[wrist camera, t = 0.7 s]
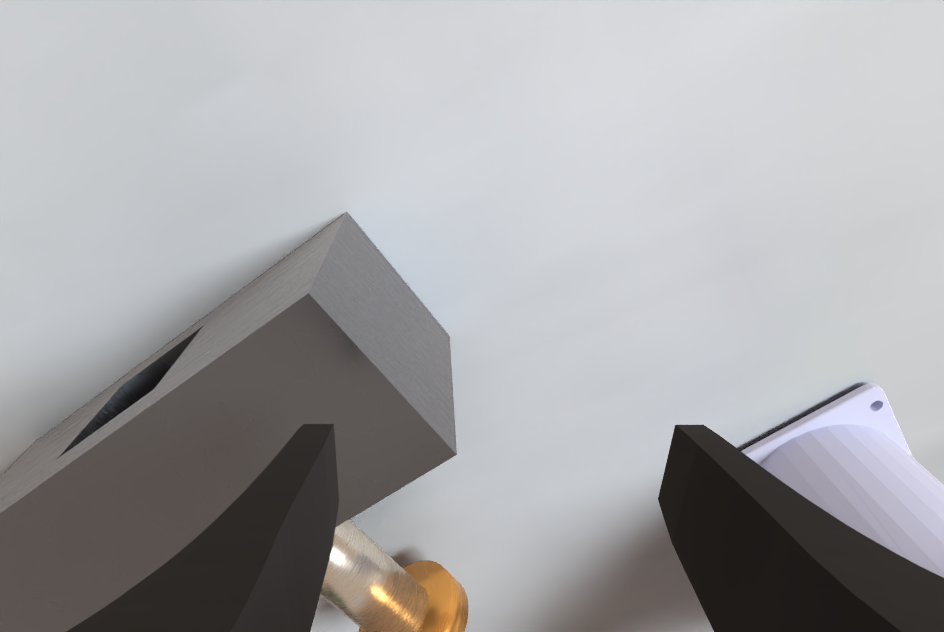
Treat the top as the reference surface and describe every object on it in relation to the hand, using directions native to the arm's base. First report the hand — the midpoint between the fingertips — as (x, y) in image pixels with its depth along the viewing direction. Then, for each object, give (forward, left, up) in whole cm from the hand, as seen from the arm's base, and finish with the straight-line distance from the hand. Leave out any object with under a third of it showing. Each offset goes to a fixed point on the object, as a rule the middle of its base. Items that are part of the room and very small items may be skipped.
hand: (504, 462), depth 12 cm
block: (+2, +10, -10) cm, 14 cm away
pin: (-5, +10, -9) cm, 14 cm away
